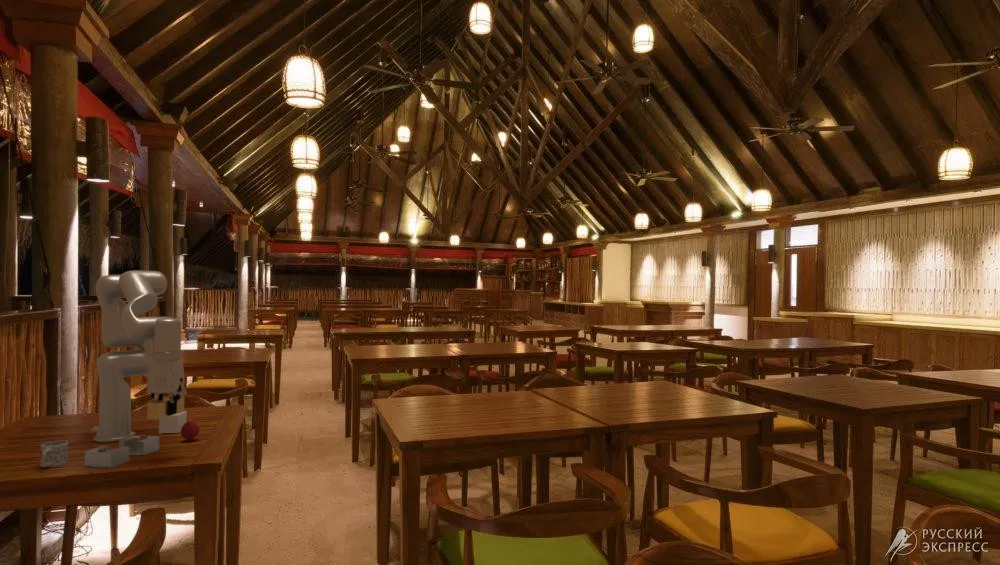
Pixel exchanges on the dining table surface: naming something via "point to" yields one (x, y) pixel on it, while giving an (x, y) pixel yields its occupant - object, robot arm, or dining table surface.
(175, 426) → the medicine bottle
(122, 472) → the dining table surface
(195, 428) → the onion
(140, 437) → the block
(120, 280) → the robot arm
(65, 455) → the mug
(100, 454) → the block
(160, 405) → the tan block
